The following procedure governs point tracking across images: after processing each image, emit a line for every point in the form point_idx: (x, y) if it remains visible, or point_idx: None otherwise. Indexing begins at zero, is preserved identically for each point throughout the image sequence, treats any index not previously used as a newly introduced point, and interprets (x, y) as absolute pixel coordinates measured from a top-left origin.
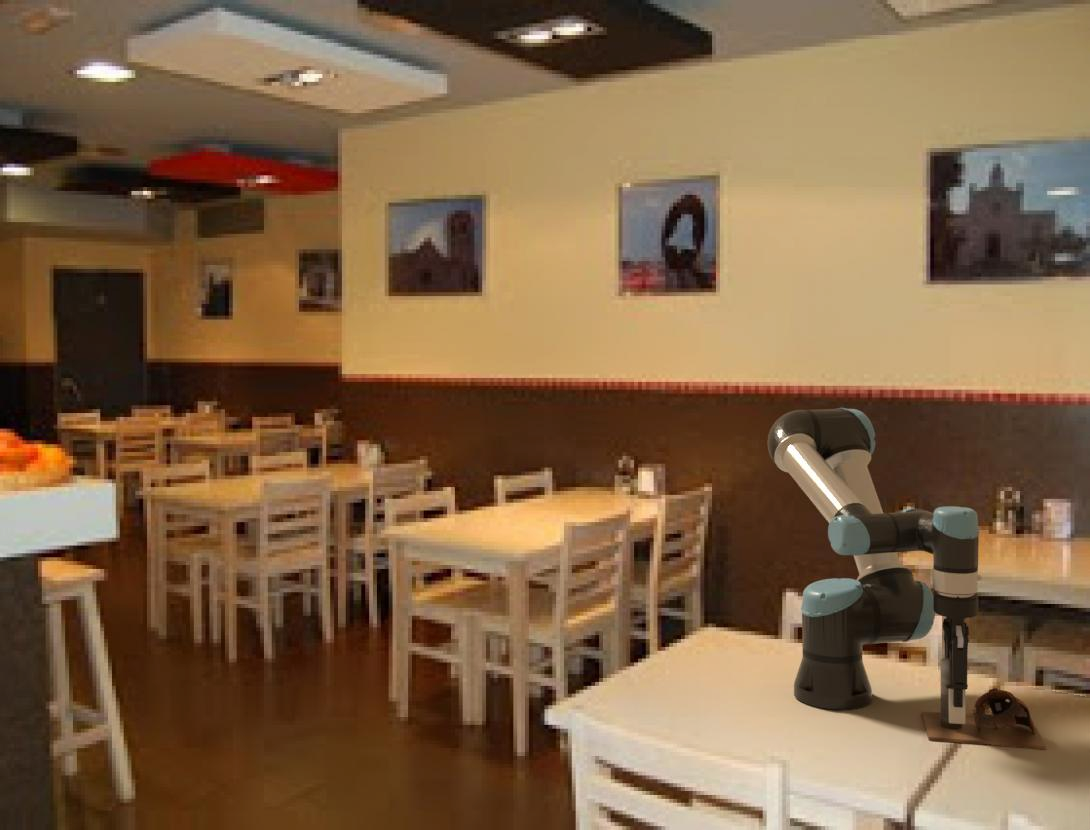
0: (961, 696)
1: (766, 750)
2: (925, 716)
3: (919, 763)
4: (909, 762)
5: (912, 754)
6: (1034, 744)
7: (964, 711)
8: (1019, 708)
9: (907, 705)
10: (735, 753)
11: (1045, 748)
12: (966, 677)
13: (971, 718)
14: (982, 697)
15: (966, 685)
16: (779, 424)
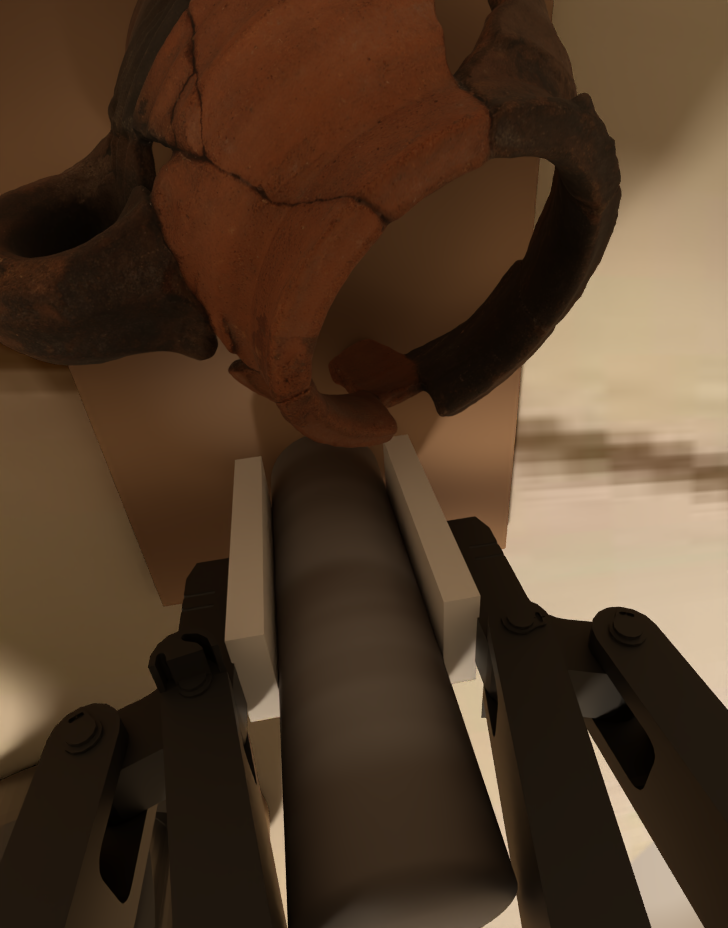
0: (511, 578)
1: (622, 816)
2: None
3: (724, 541)
4: (713, 567)
5: (642, 568)
6: None
7: (426, 483)
8: (534, 65)
9: (55, 650)
10: (641, 842)
11: None
12: (723, 713)
13: (150, 386)
14: (335, 422)
15: (667, 641)
16: None
